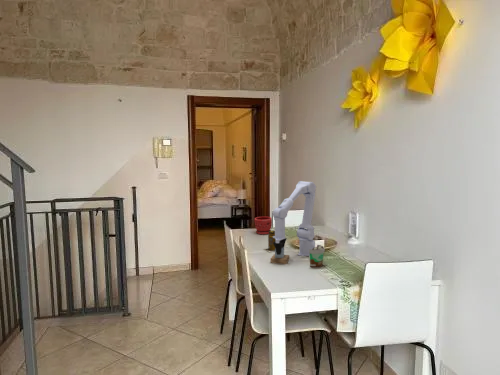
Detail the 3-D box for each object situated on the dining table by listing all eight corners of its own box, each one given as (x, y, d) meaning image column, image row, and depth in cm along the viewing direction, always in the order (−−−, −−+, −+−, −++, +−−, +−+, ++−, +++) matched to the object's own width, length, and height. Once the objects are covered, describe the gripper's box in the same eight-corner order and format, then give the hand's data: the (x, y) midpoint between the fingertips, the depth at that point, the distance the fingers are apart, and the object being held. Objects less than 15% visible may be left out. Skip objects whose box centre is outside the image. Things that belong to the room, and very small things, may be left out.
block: (284, 255, 209) (284, 247, 209) (282, 258, 205) (282, 249, 205) (276, 255, 211) (276, 246, 210) (274, 257, 206) (274, 248, 206)
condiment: (280, 250, 231) (280, 231, 230) (269, 252, 227) (269, 233, 225) (273, 247, 237) (273, 229, 236) (263, 249, 233) (262, 231, 231)
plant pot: (260, 230, 288) (260, 215, 287) (275, 232, 280) (275, 217, 279) (251, 234, 277) (251, 218, 276) (265, 236, 270) (265, 220, 268)
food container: (319, 269, 192) (319, 251, 191) (308, 267, 195) (309, 249, 194) (328, 263, 203) (328, 245, 202) (317, 261, 206) (317, 244, 205)
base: (289, 259, 211) (289, 255, 211) (286, 264, 203) (286, 259, 202) (274, 258, 214) (274, 254, 213) (270, 262, 205) (270, 258, 205)
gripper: (275, 226, 214) (276, 248, 216) (270, 231, 201) (270, 255, 202) (287, 226, 212) (287, 249, 214) (282, 232, 199) (282, 256, 200)
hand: (280, 252), depth 208 cm, fingers open, 7 cm apart
